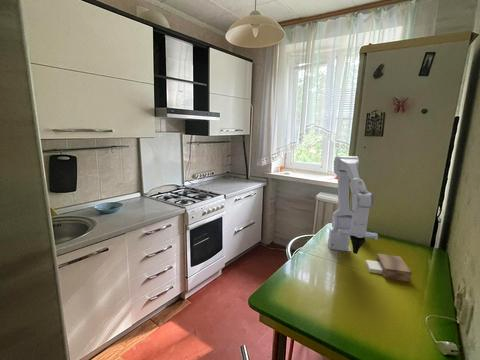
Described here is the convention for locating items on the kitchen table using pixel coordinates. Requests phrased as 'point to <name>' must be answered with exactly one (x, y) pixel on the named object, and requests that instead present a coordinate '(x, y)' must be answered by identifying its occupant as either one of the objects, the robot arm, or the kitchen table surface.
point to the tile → (374, 266)
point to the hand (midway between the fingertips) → (354, 252)
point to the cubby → (394, 267)
